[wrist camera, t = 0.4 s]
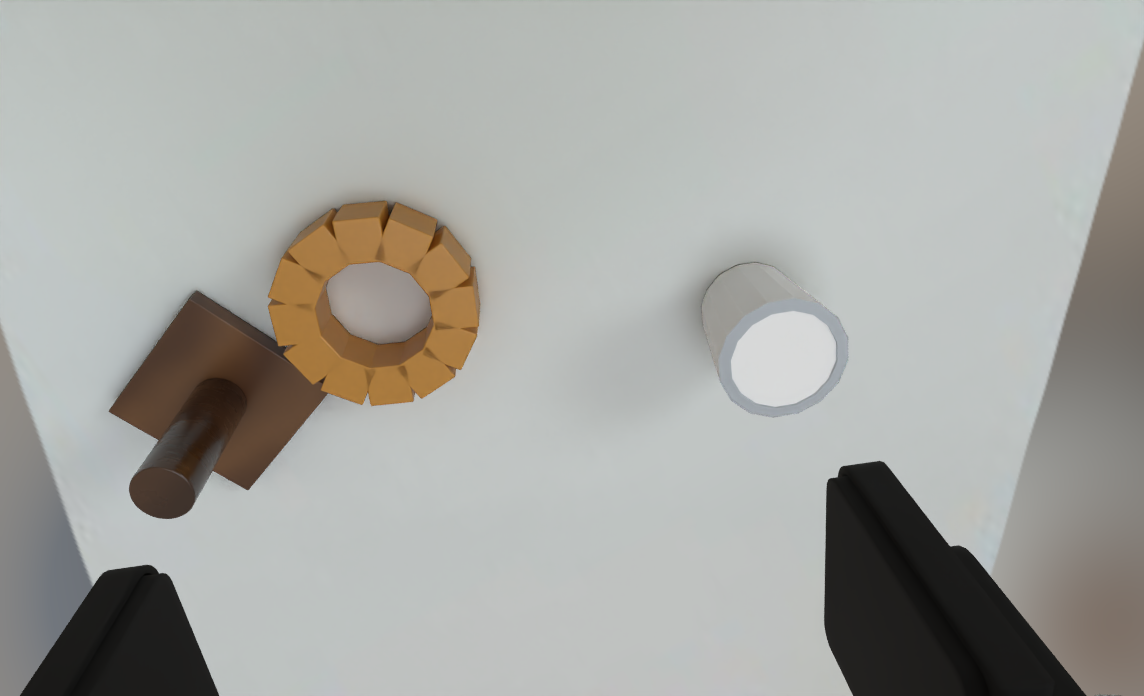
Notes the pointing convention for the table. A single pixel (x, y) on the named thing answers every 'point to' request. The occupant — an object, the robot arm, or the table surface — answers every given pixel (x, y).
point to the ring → (356, 361)
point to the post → (211, 406)
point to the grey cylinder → (772, 341)
